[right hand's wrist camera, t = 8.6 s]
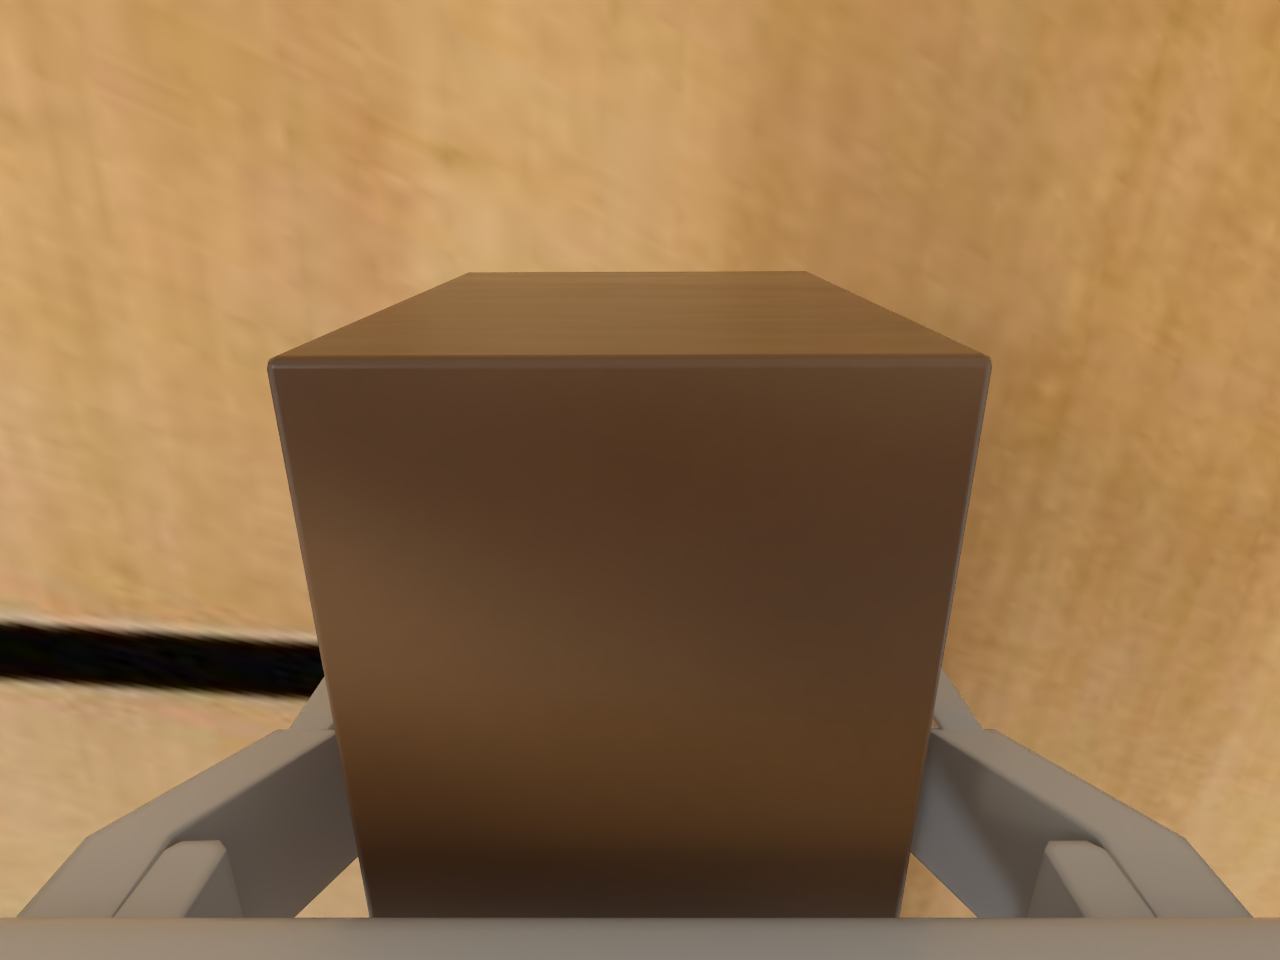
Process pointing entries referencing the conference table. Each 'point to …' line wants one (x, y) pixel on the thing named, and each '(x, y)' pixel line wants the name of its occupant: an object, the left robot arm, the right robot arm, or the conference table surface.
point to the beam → (632, 588)
